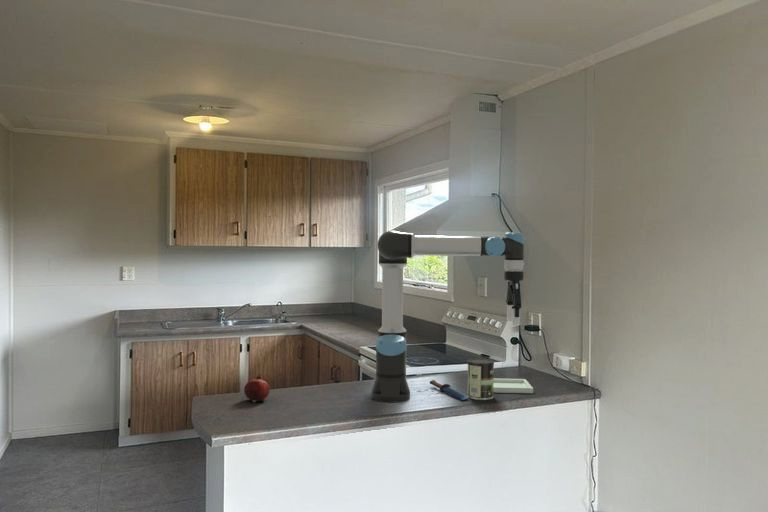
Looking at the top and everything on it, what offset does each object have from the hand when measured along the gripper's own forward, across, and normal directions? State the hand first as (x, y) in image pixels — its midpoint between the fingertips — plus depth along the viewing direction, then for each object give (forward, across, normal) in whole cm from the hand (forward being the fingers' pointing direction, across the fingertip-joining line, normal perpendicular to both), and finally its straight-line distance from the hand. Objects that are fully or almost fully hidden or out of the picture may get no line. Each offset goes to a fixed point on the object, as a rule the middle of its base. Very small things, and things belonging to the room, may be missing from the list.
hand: (513, 323), depth 234 cm
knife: (+28, -5, +26) cm, 39 cm away
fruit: (+28, -22, +99) cm, 105 cm away
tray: (+28, +6, 0) cm, 28 cm away
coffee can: (+28, -9, +14) cm, 33 cm away
